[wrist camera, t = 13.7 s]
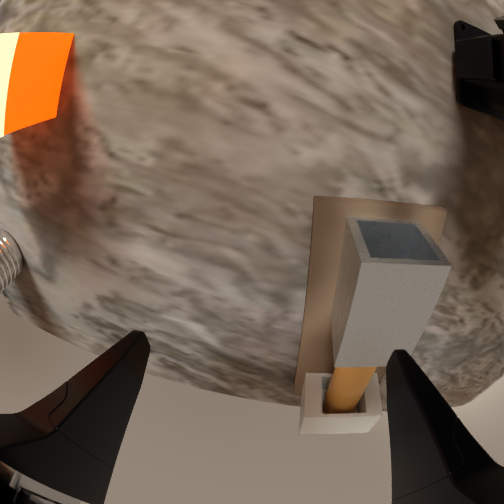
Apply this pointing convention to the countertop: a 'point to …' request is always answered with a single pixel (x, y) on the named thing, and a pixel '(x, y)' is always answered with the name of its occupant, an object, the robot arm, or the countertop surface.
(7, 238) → the water bottle
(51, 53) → the orange juice
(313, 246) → the walnut board
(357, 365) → the steel sleeve
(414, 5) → the countertop surface
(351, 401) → the orange tube
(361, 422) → the white socket
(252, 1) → the countertop surface
